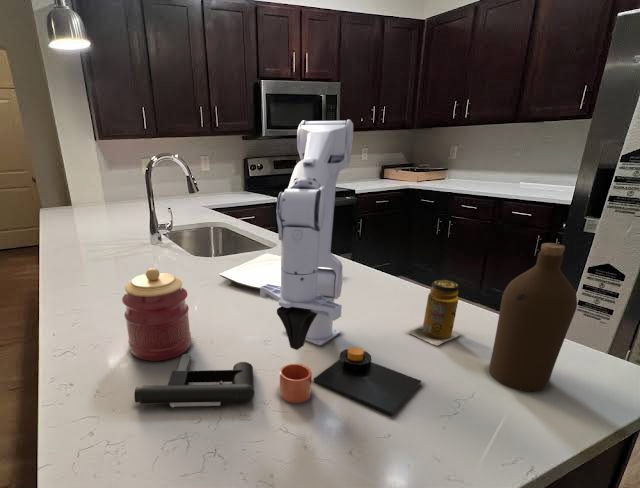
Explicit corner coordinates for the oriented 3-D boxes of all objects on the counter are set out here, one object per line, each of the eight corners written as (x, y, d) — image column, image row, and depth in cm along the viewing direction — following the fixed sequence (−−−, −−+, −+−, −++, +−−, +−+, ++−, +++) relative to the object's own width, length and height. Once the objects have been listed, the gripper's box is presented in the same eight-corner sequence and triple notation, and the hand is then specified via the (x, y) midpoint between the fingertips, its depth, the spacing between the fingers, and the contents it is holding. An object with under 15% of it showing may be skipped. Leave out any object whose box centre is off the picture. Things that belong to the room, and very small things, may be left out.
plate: (213, 283, 125) (212, 274, 124) (265, 259, 147) (265, 251, 146) (295, 303, 110) (296, 293, 109) (341, 273, 132) (341, 265, 131)
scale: (313, 382, 76) (314, 370, 75) (348, 356, 85) (349, 345, 84) (391, 417, 67) (392, 404, 66) (421, 383, 76) (423, 371, 75)
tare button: (344, 358, 80) (344, 351, 79) (352, 352, 82) (352, 345, 81) (358, 363, 78) (359, 356, 78) (366, 357, 80) (366, 350, 80)
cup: (273, 394, 73) (273, 372, 71) (291, 381, 77) (292, 360, 75) (298, 407, 70) (298, 384, 68) (316, 392, 73) (317, 371, 72)
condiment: (459, 335, 92) (470, 284, 88) (436, 346, 88) (446, 293, 83) (430, 323, 98) (439, 275, 93) (407, 333, 94) (415, 283, 89)
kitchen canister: (156, 328, 98) (147, 255, 91) (203, 339, 92) (197, 263, 85) (116, 354, 87) (103, 273, 80) (167, 368, 82) (157, 283, 75)
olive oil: (550, 401, 70) (595, 258, 60) (480, 381, 76) (512, 247, 66) (552, 372, 78) (593, 242, 68) (489, 356, 84) (519, 234, 74)
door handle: (152, 351, 83) (131, 395, 68) (253, 349, 83) (254, 393, 68) (154, 366, 84) (133, 413, 69) (253, 364, 84) (254, 410, 69)
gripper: (247, 265, 66) (248, 341, 71) (325, 286, 57) (320, 371, 62) (275, 255, 71) (274, 327, 76) (351, 273, 62) (344, 353, 67)
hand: (297, 346), depth 70 cm, fingers closed
